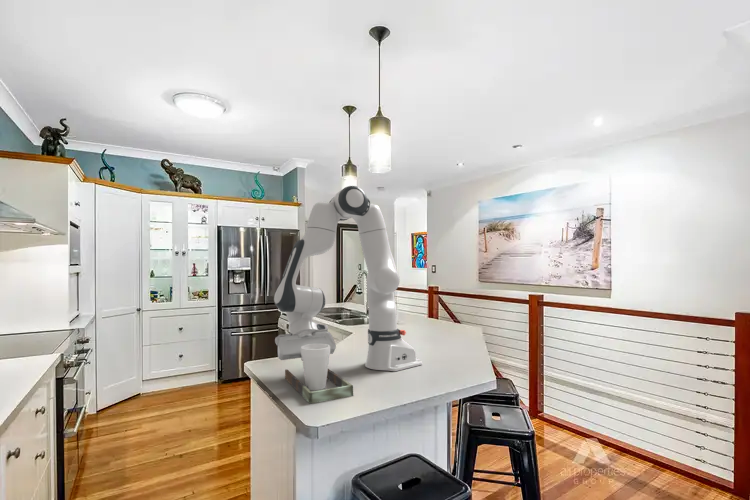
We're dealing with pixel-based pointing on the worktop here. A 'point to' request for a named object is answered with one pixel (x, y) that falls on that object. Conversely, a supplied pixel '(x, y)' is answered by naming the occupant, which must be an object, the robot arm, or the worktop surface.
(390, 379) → the worktop surface
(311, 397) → the channel
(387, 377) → the worktop surface
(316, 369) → the foam cup
